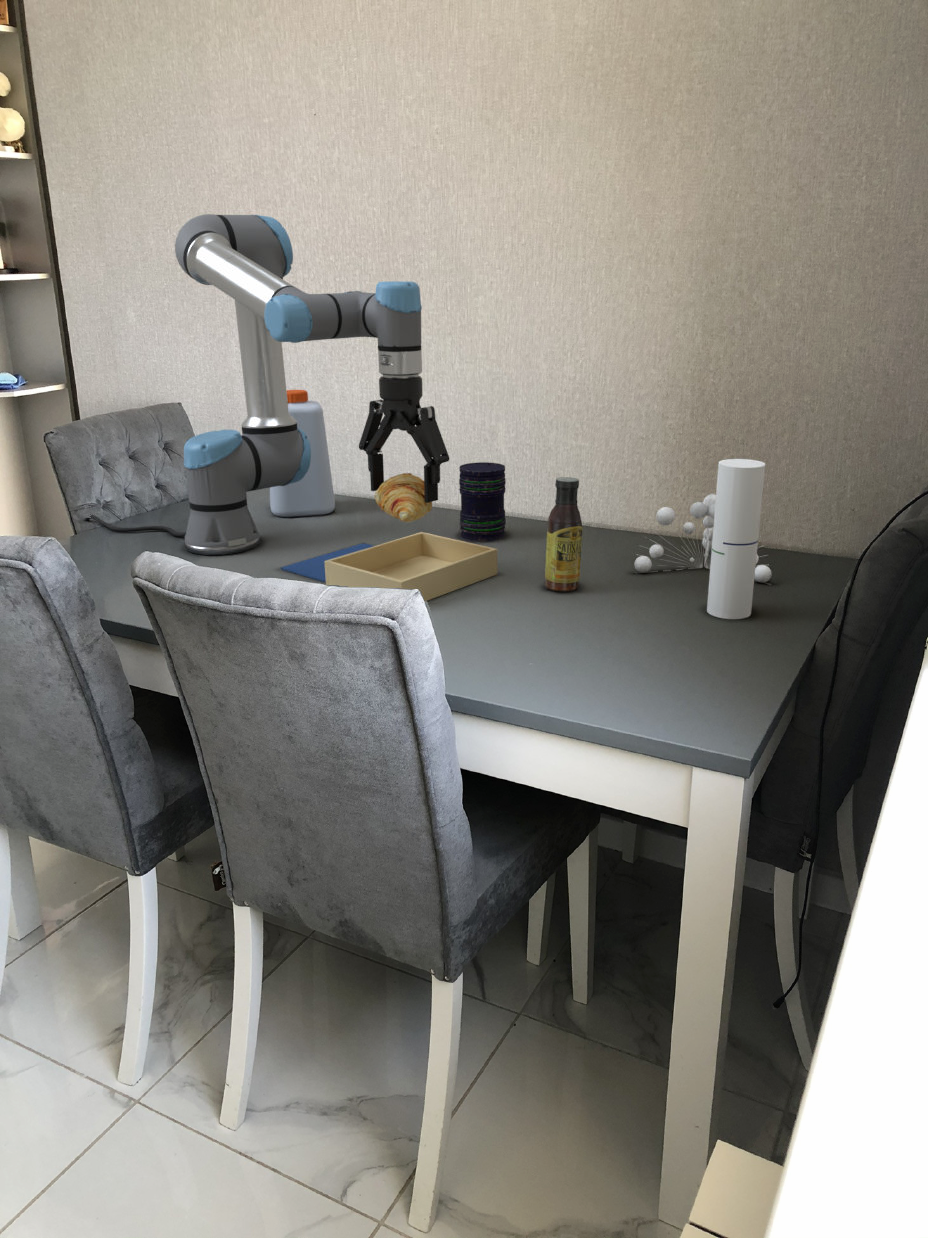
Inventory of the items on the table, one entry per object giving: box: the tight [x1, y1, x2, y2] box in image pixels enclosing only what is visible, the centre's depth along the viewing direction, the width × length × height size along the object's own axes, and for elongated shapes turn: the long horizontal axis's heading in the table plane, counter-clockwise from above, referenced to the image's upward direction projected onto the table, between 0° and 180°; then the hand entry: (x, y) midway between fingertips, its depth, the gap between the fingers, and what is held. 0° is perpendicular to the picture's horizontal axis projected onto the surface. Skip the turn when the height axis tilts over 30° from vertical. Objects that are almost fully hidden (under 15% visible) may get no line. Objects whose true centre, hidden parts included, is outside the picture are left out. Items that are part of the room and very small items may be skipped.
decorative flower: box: [633, 492, 772, 585], centre depth 182 cm, size 25×22×14 cm
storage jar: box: [458, 461, 507, 543], centre depth 206 cm, size 10×10×15 cm
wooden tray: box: [325, 531, 498, 602], centre depth 179 cm, size 20×26×5 cm
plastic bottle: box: [269, 389, 336, 518], centre depth 228 cm, size 15×15×28 cm
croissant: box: [374, 472, 433, 523], centre depth 175 cm, size 21×10×8 cm, turn 8°
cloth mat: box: [280, 542, 375, 583], centre depth 191 cm, size 14×22×1 cm, turn 139°
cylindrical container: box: [706, 458, 766, 620], centre depth 157 cm, size 7×7×25 cm
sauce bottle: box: [544, 476, 584, 592], centre depth 171 cm, size 6×6×20 cm
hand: (403, 495), depth 175 cm, fingers closed on croissant, 13 cm apart
